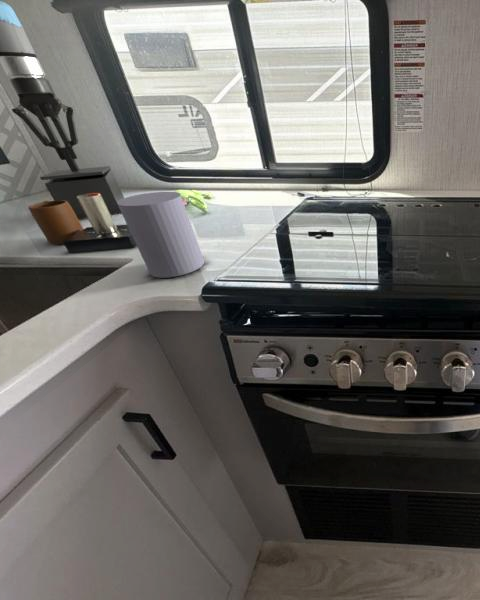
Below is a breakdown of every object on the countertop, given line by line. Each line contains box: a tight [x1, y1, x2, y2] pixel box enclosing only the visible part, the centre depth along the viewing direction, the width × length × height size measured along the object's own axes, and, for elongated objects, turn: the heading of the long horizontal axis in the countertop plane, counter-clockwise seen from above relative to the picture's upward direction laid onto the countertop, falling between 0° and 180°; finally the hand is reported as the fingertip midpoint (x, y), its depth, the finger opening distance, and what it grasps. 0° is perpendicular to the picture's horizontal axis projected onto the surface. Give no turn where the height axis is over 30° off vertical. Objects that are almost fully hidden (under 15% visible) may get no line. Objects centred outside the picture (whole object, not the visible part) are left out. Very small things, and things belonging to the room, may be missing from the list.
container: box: [117, 191, 205, 279], centre depth 68 cm, size 10×10×15 cm
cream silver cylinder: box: [77, 193, 118, 235], centre depth 80 cm, size 4×4×9 cm
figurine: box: [172, 189, 213, 214], centre depth 109 cm, size 18×27×6 cm
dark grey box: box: [44, 168, 125, 220], centre depth 107 cm, size 17×14×11 cm
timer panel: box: [62, 224, 137, 254], centre depth 84 cm, size 14×10×3 cm
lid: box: [39, 166, 112, 181], centre depth 103 cm, size 18×14×1 cm
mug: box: [28, 200, 84, 245], centre depth 86 cm, size 12×8×9 cm, turn 49°
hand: (75, 170), depth 100 cm, fingers closed
